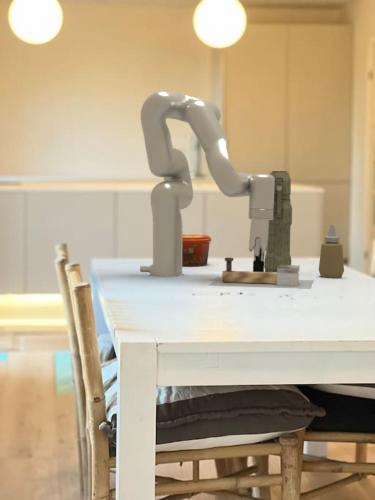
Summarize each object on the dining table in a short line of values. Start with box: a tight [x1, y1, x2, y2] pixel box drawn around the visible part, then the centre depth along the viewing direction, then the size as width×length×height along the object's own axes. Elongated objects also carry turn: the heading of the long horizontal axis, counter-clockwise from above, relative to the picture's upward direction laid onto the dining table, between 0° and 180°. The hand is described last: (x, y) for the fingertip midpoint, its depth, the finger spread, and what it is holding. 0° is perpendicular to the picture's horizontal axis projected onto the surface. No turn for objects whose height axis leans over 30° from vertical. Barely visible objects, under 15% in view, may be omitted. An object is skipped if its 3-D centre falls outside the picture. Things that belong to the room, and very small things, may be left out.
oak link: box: [221, 257, 300, 284], centre depth 263 cm, size 23×4×7 cm, turn 77°
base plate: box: [208, 276, 314, 290], centre depth 265 cm, size 30×19×2 cm, turn 79°
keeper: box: [277, 264, 300, 286], centre depth 262 cm, size 6×8×5 cm
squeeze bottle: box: [318, 224, 345, 279], centre depth 280 cm, size 8×8×18 cm
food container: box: [182, 234, 212, 267], centre depth 323 cm, size 16×16×11 cm
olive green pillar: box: [264, 170, 293, 272], centre depth 291 cm, size 9×12×35 cm
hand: (258, 273), depth 270 cm, fingers closed
